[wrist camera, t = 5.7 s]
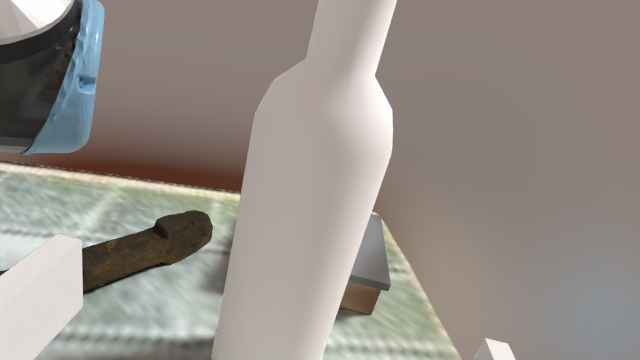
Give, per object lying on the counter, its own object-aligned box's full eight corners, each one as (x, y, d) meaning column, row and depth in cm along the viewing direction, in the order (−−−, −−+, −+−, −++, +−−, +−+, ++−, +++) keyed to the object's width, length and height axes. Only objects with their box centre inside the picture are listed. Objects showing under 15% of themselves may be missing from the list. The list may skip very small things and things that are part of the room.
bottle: (300, 328, 33) (414, -59, 21) (326, 416, 27) (513, -73, 15) (206, 334, 31) (276, -109, 18) (209, 434, 24) (322, -155, 12)
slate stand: (245, 287, 36) (253, 250, 35) (271, 220, 48) (278, 190, 46) (376, 319, 37) (390, 284, 35) (370, 245, 49) (380, 216, 47)
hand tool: (-9, 343, 26) (-16, 291, 24) (-22, 306, 28) (-30, 256, 26) (223, 258, 40) (230, 221, 38) (203, 237, 42) (208, 202, 40)
